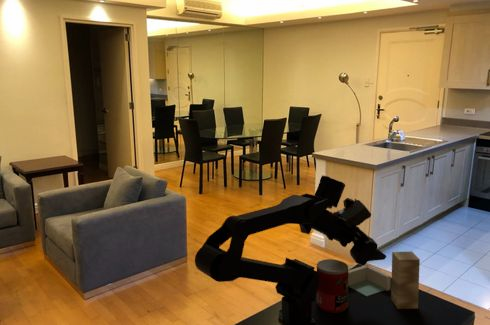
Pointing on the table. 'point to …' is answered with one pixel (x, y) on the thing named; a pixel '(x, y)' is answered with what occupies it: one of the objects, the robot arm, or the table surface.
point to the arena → (368, 280)
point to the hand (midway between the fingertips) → (376, 248)
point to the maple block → (405, 280)
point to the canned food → (332, 285)
